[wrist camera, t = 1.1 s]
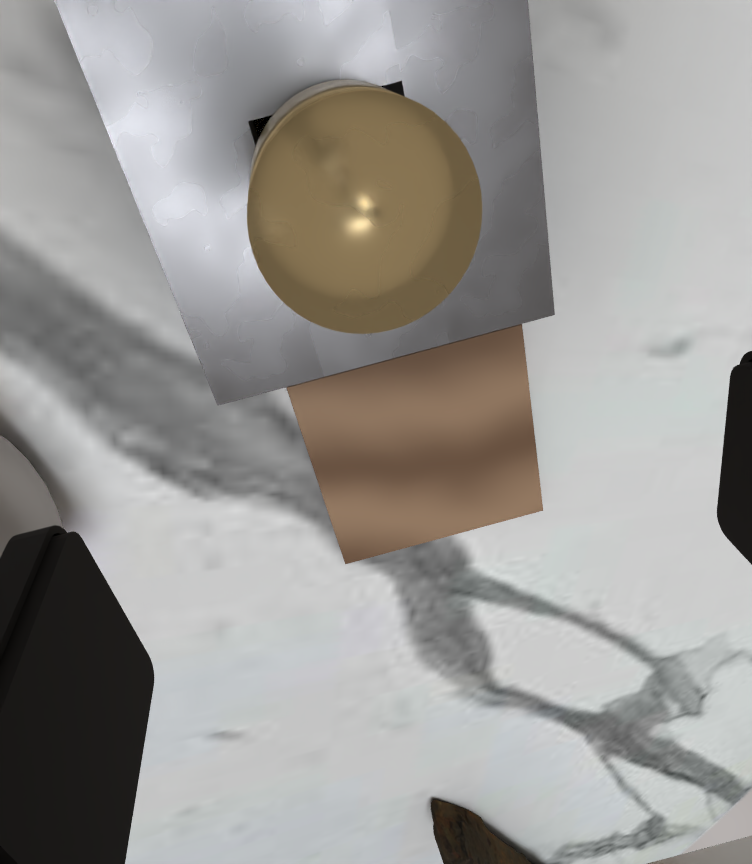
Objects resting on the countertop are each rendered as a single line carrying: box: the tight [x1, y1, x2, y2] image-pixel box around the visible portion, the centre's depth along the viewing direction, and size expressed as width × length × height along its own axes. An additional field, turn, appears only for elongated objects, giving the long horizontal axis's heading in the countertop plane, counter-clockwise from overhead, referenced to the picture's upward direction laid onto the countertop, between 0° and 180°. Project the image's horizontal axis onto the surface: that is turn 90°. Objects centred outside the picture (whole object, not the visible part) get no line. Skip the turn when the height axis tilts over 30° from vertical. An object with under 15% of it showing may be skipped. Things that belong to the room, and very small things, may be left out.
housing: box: [54, 0, 555, 405], centre depth 25 cm, size 14×14×4 cm
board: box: [287, 324, 543, 564], centre depth 34 cm, size 11×11×1 cm
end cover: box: [247, 80, 482, 334], centre depth 22 cm, size 6×6×10 cm
